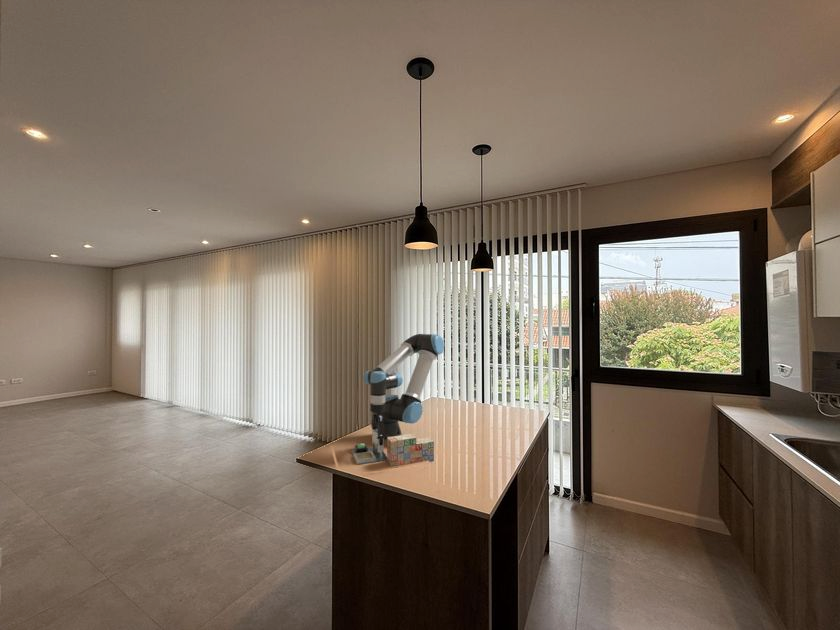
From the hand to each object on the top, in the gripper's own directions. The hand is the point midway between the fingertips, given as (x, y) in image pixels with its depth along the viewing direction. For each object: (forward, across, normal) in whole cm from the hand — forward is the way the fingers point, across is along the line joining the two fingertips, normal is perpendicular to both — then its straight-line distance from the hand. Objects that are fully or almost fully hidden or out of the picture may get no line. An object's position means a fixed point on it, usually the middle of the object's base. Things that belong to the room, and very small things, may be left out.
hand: (377, 447), depth 167 cm
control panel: (+3, +3, -5) cm, 6 cm away
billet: (+2, 0, 0) cm, 2 cm away
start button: (+2, -3, -8) cm, 8 cm away
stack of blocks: (+4, +14, +12) cm, 19 cm away
